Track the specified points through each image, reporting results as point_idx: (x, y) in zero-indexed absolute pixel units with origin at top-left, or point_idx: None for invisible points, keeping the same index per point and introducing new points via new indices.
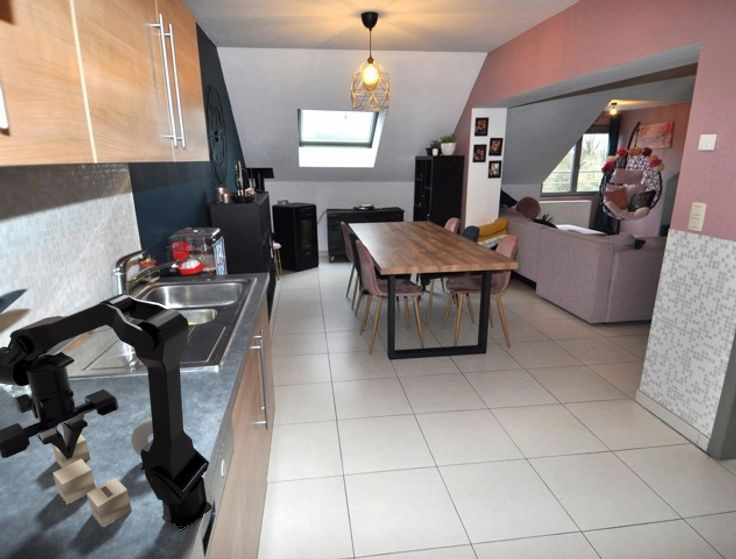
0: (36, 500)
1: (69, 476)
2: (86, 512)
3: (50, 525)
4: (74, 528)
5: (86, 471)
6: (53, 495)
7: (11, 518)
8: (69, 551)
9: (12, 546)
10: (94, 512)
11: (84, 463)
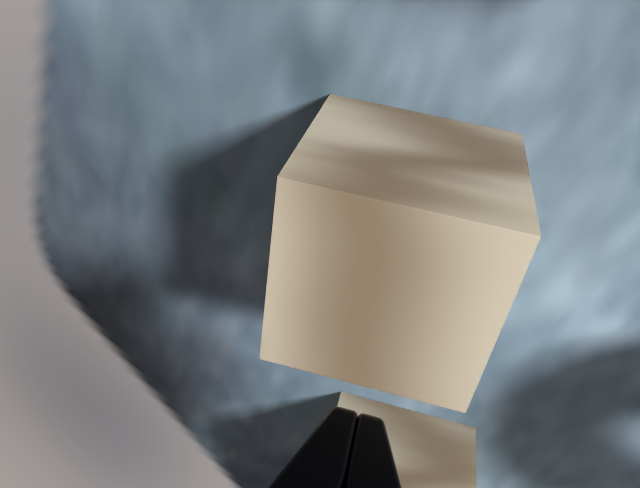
0: (213, 22)
1: (332, 337)
2: None
3: (198, 287)
4: (257, 385)
5: (433, 397)
6: (301, 85)
7: (67, 46)
8: (200, 442)
9: (51, 247)
10: None
11: (498, 317)
